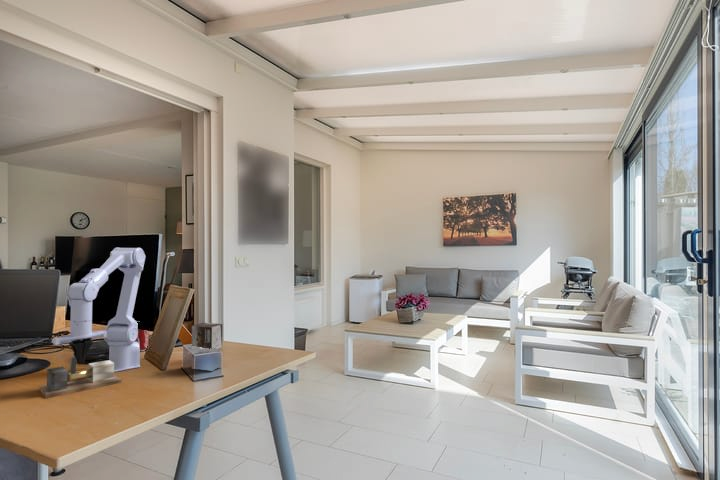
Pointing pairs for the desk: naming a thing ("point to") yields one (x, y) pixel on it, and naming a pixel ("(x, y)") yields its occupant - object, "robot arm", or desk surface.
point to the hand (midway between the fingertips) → (80, 363)
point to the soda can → (142, 339)
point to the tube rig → (60, 386)
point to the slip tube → (78, 372)
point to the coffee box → (207, 335)
